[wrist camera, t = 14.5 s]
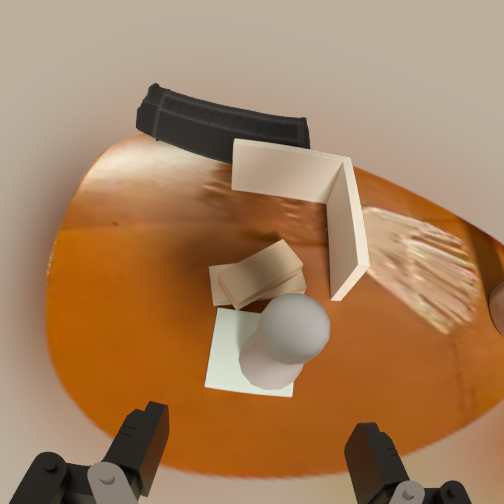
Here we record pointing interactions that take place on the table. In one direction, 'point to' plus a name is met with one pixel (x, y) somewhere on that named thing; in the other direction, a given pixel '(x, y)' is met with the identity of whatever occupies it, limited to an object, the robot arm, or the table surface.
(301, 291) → the block
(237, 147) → the bracket
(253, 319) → the tile
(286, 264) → the offcut short
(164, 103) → the magazine
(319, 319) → the salt shaker
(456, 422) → the table surface
